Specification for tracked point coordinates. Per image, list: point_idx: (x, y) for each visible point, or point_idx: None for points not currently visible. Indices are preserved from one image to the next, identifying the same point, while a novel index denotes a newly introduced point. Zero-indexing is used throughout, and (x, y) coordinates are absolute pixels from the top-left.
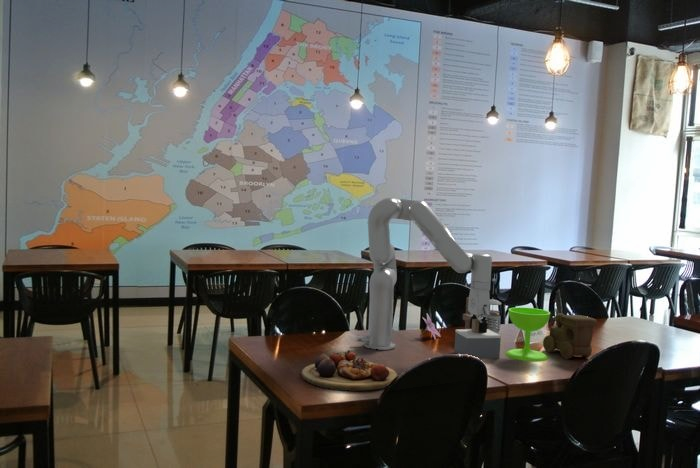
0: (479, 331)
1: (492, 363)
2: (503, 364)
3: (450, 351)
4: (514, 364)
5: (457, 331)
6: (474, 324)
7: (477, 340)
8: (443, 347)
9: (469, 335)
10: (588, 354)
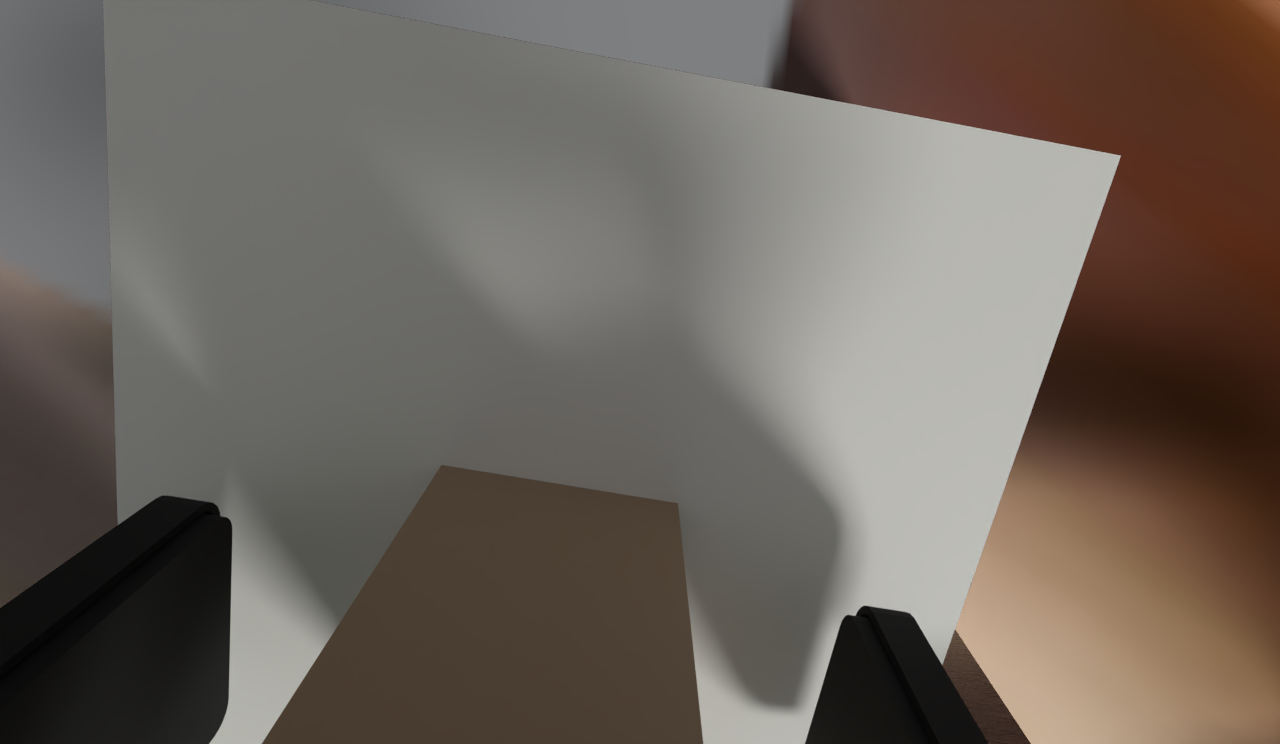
0: (145, 521)
1: (93, 346)
2: (32, 468)
3: (923, 102)
4: None
5: (940, 125)
6: (418, 642)
7: None
8: (1206, 142)
9: (140, 82)
10: None
